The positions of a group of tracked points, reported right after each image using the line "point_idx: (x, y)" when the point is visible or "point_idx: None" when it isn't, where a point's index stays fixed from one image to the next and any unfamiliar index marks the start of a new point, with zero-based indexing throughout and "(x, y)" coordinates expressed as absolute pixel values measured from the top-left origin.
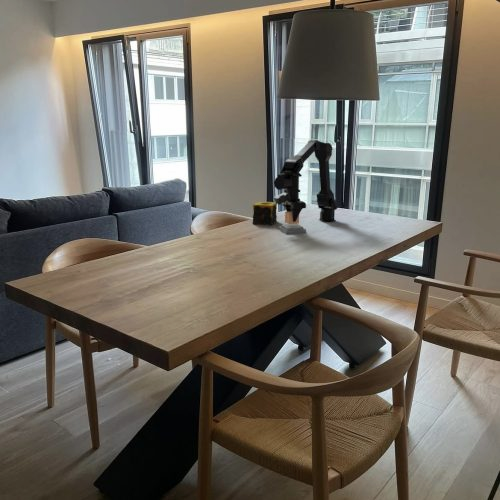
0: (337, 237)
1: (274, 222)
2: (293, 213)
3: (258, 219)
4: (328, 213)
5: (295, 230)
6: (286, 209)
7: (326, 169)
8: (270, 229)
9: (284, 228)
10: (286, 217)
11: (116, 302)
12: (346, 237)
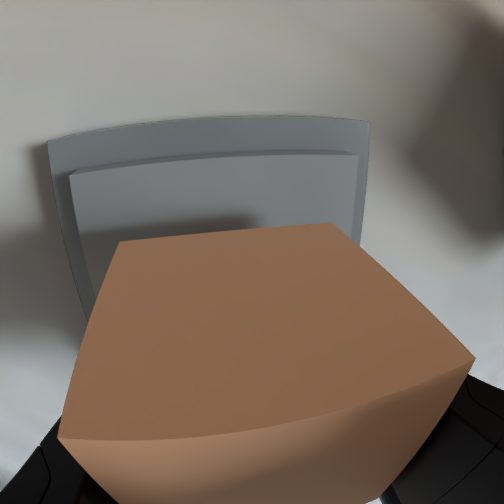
0: (6, 446)
1: None
2: (16, 492)
3: None
4: (387, 496)
5: (75, 281)
6: None
7: None
8: (384, 42)
9: (191, 154)
10: (288, 286)
11: None
12: (18, 466)
